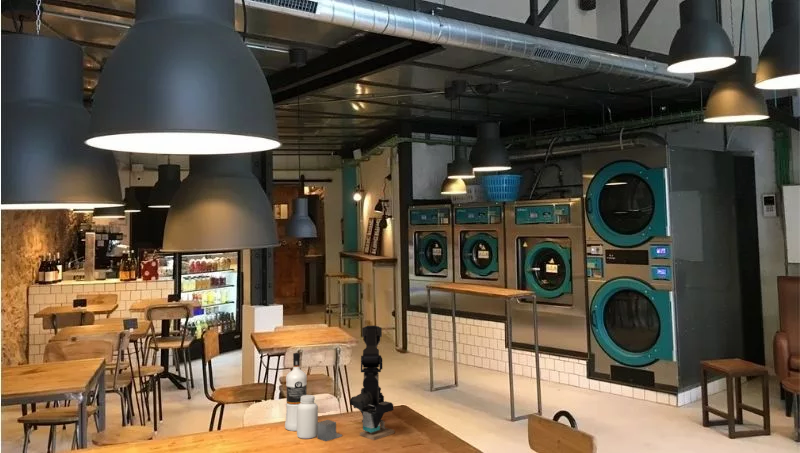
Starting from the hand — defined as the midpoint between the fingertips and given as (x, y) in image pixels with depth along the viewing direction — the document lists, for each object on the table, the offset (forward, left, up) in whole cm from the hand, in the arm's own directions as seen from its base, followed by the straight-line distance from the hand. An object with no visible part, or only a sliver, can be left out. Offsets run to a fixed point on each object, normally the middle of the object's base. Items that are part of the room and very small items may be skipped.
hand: (371, 426), depth 216 cm
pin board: (0, +3, -4) cm, 5 cm away
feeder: (-11, -12, -4) cm, 16 cm away
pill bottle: (-19, -16, -4) cm, 25 cm away
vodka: (-30, -13, -4) cm, 33 cm away
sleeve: (0, 0, -1) cm, 1 cm away
